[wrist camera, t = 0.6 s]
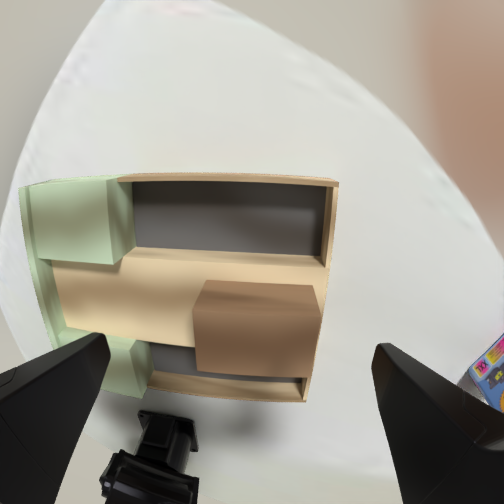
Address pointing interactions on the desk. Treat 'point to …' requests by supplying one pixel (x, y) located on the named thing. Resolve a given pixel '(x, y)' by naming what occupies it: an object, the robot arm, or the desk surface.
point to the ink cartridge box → (491, 375)
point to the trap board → (171, 265)
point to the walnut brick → (256, 328)
